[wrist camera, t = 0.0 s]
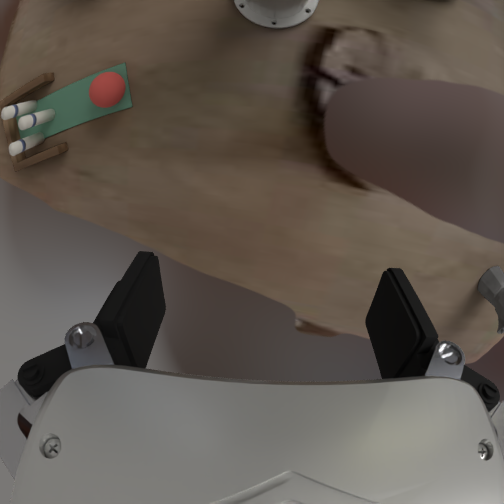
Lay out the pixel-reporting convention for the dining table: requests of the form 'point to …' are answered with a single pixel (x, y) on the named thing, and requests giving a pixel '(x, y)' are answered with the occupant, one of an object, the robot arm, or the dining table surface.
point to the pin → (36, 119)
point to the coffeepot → (494, 292)
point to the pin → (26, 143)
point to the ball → (107, 89)
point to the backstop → (12, 126)
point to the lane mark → (75, 105)
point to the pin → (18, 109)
